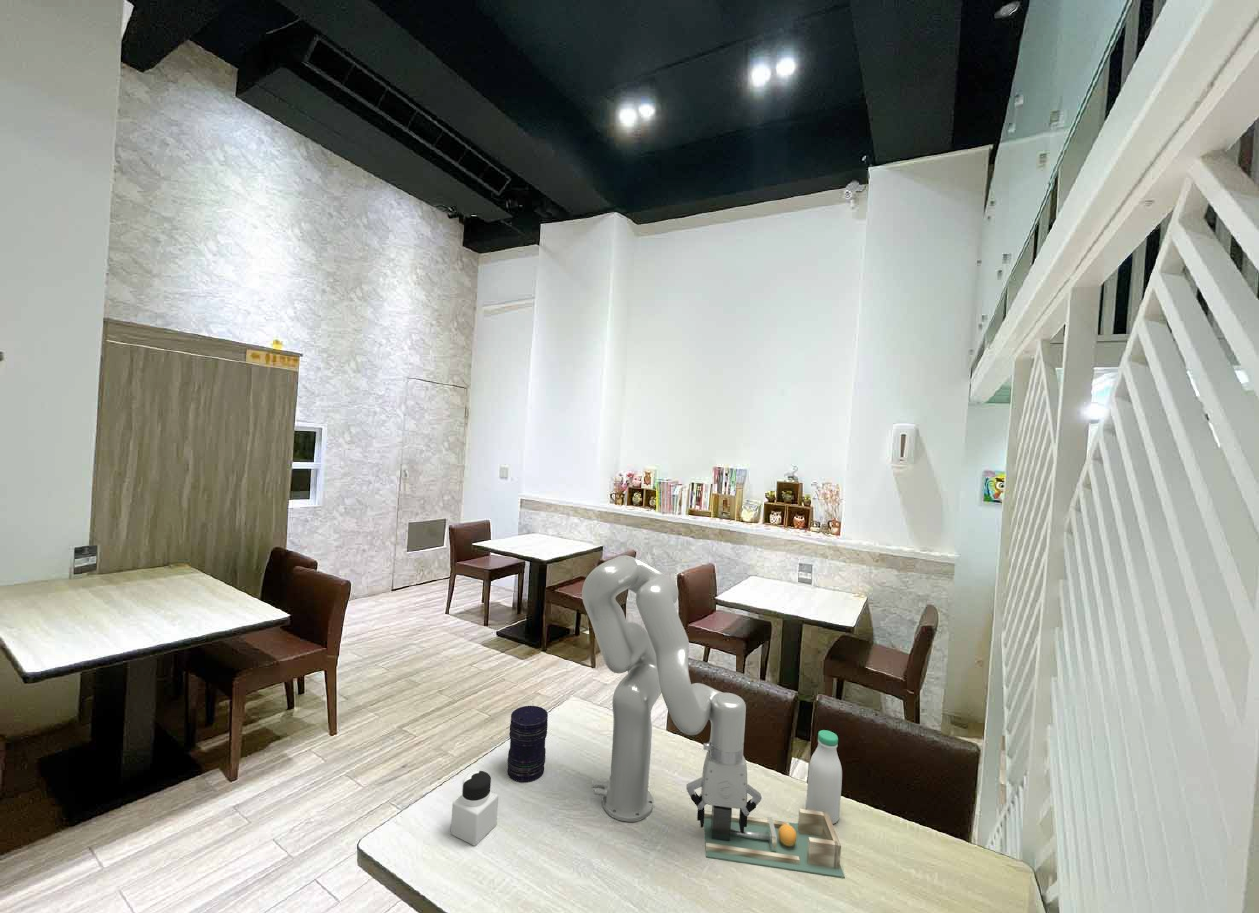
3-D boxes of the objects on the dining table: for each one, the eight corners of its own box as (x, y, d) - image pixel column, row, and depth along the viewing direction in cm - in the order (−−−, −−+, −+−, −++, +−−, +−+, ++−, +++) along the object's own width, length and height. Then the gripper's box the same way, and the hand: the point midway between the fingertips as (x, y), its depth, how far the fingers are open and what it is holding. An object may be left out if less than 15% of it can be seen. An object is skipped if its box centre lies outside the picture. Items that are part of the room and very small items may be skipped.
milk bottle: (842, 828, 120) (848, 746, 120) (808, 821, 122) (814, 740, 122) (835, 806, 128) (841, 728, 128) (803, 800, 129) (809, 723, 129)
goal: (808, 864, 109) (809, 841, 109) (797, 829, 119) (799, 808, 119) (839, 868, 108) (841, 845, 108) (826, 833, 118) (827, 812, 118)
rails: (705, 850, 111) (706, 846, 111) (703, 814, 121) (703, 810, 121) (799, 864, 108) (799, 859, 108) (788, 826, 119) (788, 822, 119)
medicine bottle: (497, 825, 114) (500, 773, 114) (475, 847, 108) (478, 791, 107) (472, 813, 117) (475, 762, 117) (449, 834, 111) (453, 780, 110)
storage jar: (527, 754, 141) (530, 701, 140) (552, 769, 135) (556, 714, 135) (498, 771, 133) (502, 715, 132) (524, 788, 127) (528, 729, 127)
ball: (779, 849, 112) (780, 831, 112) (776, 835, 116) (777, 818, 116) (797, 852, 112) (799, 834, 112) (794, 838, 116) (795, 821, 116)
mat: (705, 857, 109) (706, 856, 109) (703, 811, 123) (703, 810, 123) (844, 878, 106) (844, 876, 106) (825, 828, 120) (825, 827, 120)
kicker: (712, 841, 113) (714, 811, 113) (710, 822, 119) (712, 793, 119) (775, 851, 111) (778, 820, 111) (771, 830, 117) (773, 801, 117)
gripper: (688, 756, 112) (683, 832, 113) (767, 766, 111) (762, 843, 111) (687, 737, 120) (683, 809, 120) (762, 746, 118) (757, 819, 118)
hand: (721, 825), depth 116 cm, fingers open, 8 cm apart
